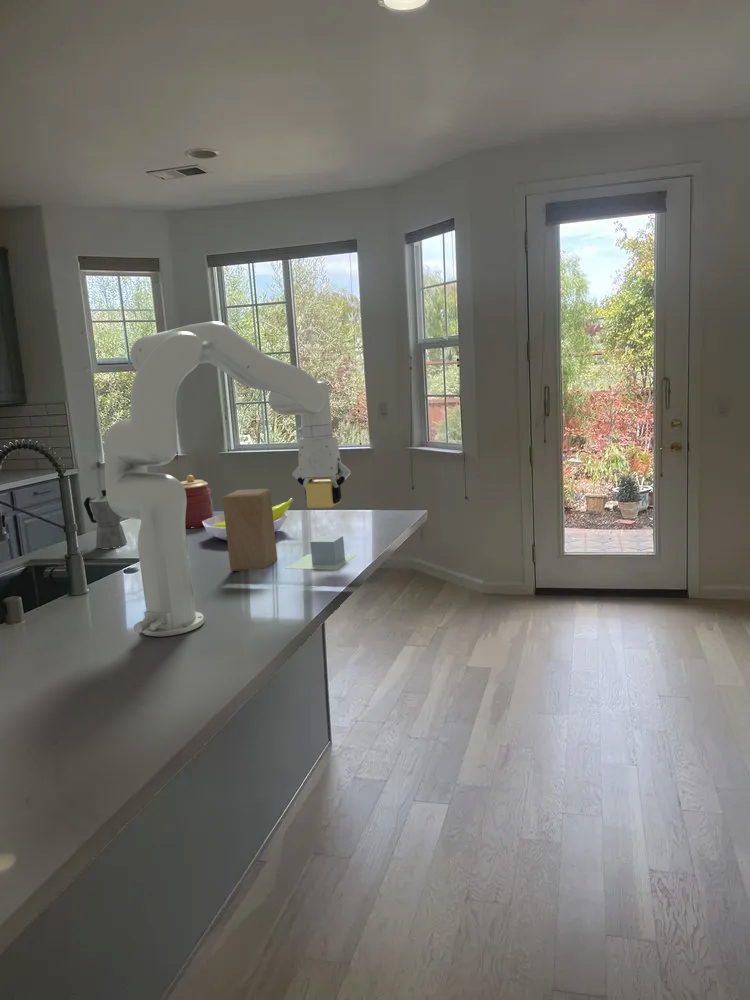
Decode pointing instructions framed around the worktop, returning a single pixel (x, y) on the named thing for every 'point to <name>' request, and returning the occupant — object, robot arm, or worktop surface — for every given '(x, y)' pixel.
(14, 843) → the worktop surface
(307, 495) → the ochre brick
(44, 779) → the worktop surface
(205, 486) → the canister
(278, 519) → the fruit bowl
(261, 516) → the block
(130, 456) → the robot arm
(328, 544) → the slate brick
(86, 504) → the coffeepot
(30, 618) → the worktop surface
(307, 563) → the plate
